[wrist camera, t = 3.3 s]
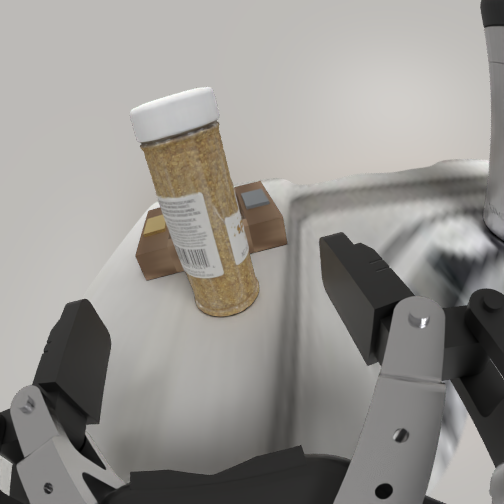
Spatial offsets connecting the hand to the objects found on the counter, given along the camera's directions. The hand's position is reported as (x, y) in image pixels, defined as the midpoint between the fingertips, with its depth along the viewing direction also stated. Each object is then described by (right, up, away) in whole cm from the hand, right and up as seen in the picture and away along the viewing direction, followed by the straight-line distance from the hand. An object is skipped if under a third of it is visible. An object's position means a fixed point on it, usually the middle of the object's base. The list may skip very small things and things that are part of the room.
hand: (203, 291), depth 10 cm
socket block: (-2, +3, +19) cm, 19 cm away
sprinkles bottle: (0, -2, +11) cm, 12 cm away
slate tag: (+2, +6, +18) cm, 19 cm away
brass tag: (-7, +4, +17) cm, 19 cm away
